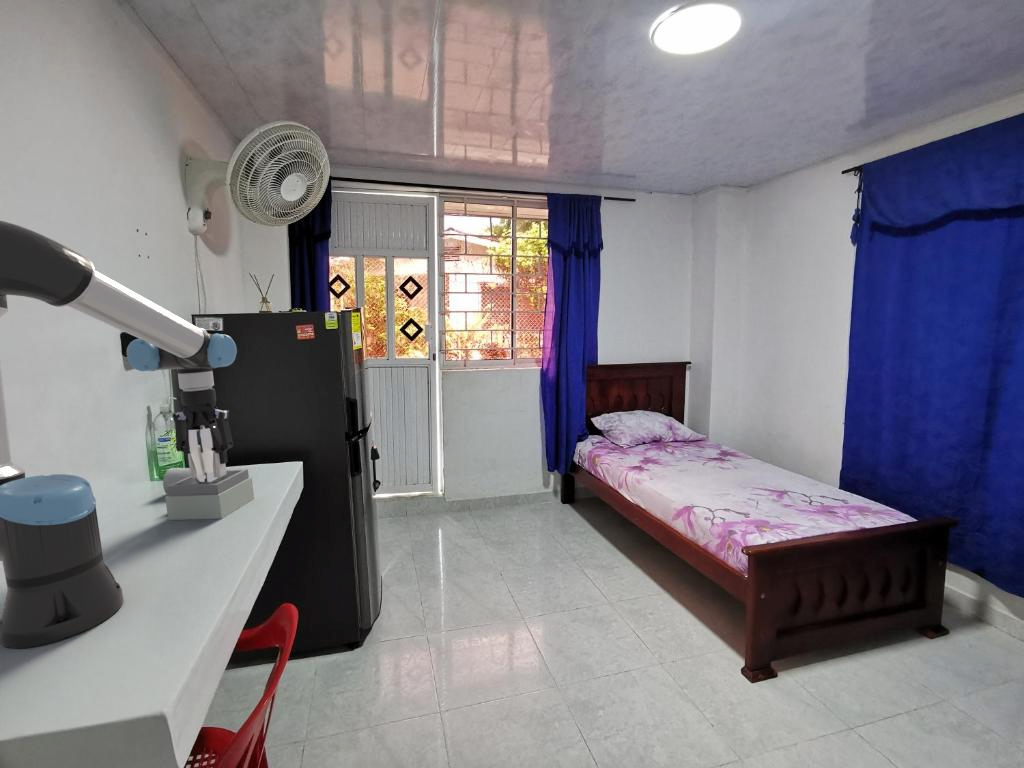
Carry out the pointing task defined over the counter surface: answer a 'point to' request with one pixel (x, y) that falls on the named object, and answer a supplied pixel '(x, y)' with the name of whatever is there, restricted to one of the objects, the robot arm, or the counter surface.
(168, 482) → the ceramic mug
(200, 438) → the beer glass
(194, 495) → the grey box with knob
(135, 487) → the counter surface
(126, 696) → the counter surface
